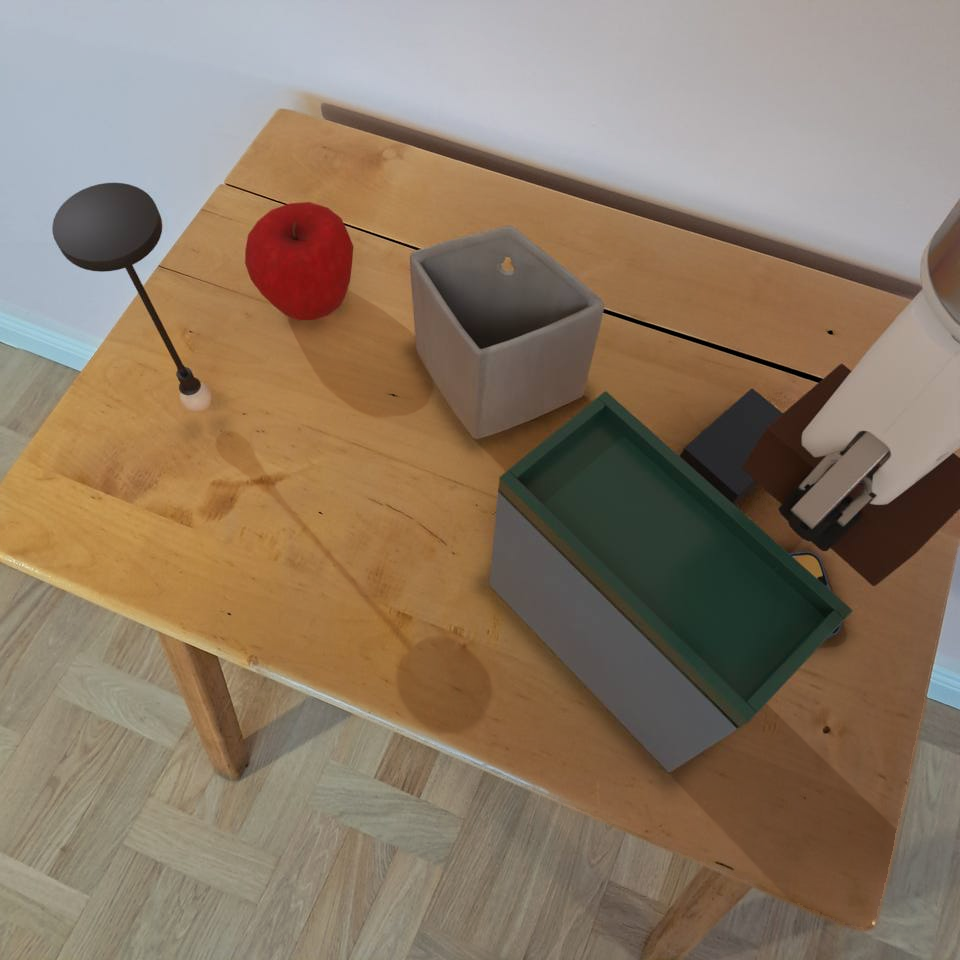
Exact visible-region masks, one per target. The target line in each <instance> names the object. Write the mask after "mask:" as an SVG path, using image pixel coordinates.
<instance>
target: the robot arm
mask: <svg viewBox="0 0 960 960" xmlns="http://www.w3.org/2000/svg"><path fill="white" fill-rule="evenodd" d="M919 264H920V267H919V277H920V278H919V279H920V283H921V290H920V291H919V292H918V293H917V294H916V295H915V296H914V297H913V298H912V299H911V301H910V302H909V303H908V304H907V305H905V307H904V308H903V309H902V310H901V312H899V314H898V315H897V316H896V317H895V318H894V320H893V321H892V322H891V323H890V324H889V325H888V326H887V328H886V329H885V330H884V331H883V332H882V333H881V335H880V336H879V337H878V338H877V340H875V342H874V343H873V344H872V345H871V346H870V348H869V349H868V350H867V351H866V353H864V355H863V356H862V357H861V359H860V360H859V361H858V362H857V364H856V365H855V366H854V367H853V369H851V372H850V374H849V375H848V376H847V378H846V379H845V380H844V381H843V383H842V384H841V385H840V386H839V388H838V389H837V390H836V391H835V393H834V394H833V395H832V396H831V398H830V399H829V400H828V401H827V403H826V404H825V405H824V406H823V408H822V409H821V410H820V411H819V413H818V414H817V415H816V416H815V418H814V419H813V420H812V421H811V422H810V424H809V425H808V426H807V427H806V429H805V430H804V431H803V433H802V446H803V447H804V448H805V449H806V450H807V451H808V452H809V453H810V454H812V455H813V456H814V457H821V456H825V455H826V456H825V458H824V459H823V460H822V461H821V462H820V463H819V464H818V465H817V466H816V468H815V469H814V470H813V471H812V472H811V471H809V472H808V473H807V474H806V475H805V476H803V478H802V479H801V480H800V482H799V483H798V484H797V485H796V487H795V488H794V489H793V491H792V492H791V493H790V494H789V496H788V497H787V498H786V499H785V501H784V502H783V503H782V504H780V506H778V512H779V514H780V515H781V516H782V517H783V518H784V519H785V520H786V521H787V523H788V525H789V527H790V528H791V531H793V532H794V533H795V534H797V535H798V537H800V538H801V539H802V540H804V541H806V542H811V543H812V544H813V545H814V546H816V548H818V550H820V551H821V552H828V551H829V550H830V549H831V547H832V546H833V545H834V544H835V543H836V542H837V541H838V540H839V539H840V538H841V537H842V536H843V535H844V534H845V533H846V532H847V531H848V530H849V529H850V528H851V527H852V526H853V525H854V524H855V523H856V522H857V521H858V520H859V519H860V518H861V517H862V515H861V514H860V512H859V511H860V510H861V509H862V508H863V507H864V506H865V505H866V504H867V503H868V502H869V501H870V500H871V499H873V500H872V501H871V502H870V504H874V505H884V504H888V503H890V502H891V501H892V500H894V499H895V498H896V497H898V496H899V495H900V494H902V493H903V492H904V491H905V490H907V489H908V488H909V487H911V486H912V485H913V484H915V483H916V482H917V481H918V480H920V479H921V478H922V477H924V476H925V475H926V474H927V473H929V472H930V471H931V470H933V469H934V468H935V467H936V466H937V465H939V464H940V463H941V462H942V461H944V460H945V459H946V458H947V457H949V456H950V455H951V454H952V453H954V454H955V452H956V451H958V450H959V449H960V197H959V198H958V200H957V201H956V203H955V204H954V206H953V207H952V208H951V210H950V211H949V213H948V215H947V216H946V217H945V218H944V220H943V222H941V224H940V226H938V229H937V230H936V231H934V234H933V235H932V236H931V238H930V239H929V241H928V242H927V244H926V245H925V248H924V250H923V253H922V256H921V259H920V263H919ZM878 464H880V465H881V466H880V467H879V468H878V467H877V465H878ZM858 484H860V485H861V486H863V487H864V488H865V489H864V490H863V491H862V492H861V493H860V494H859V495H858V496H857V497H856V498H855V499H853V498H852V497H851V496H849V495H848V494H849V493H850V492H851V491H852V490H853V489H854V488H855V487H856V486H857V485H858Z"/></svg>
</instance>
